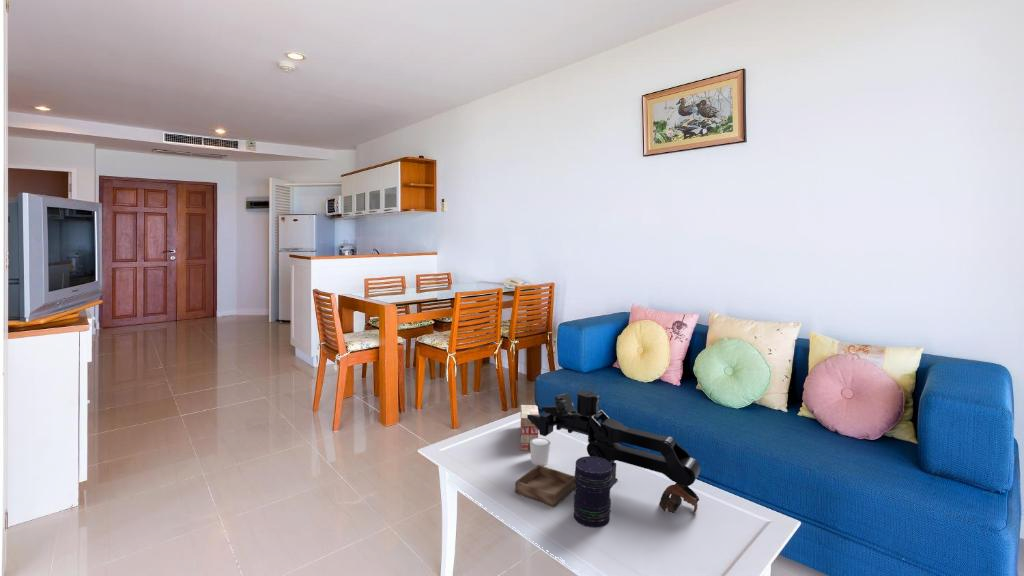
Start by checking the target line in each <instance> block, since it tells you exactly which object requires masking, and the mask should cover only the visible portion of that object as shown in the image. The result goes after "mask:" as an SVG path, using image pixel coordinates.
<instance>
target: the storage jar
mask: <svg viewBox="0 0 1024 576" xmlns="http://www.w3.org/2000/svg"><path fill="white" fill-rule="evenodd" d="M574 476H575V479H574V480H575V484H576V488H575V489H574V490H575V492H574V497H573V519H574V520H575V521H576V523H578V524H580V525H581V526H584V527H586V528H591V529H597V528H599V529H600V528H603V527H605V526H607V525H608V524H609V523H610V521H611V520H610V519H611V518H610V517H611V516H610V515H611V511H612V510H611V509H612V507H611V505H612V503H611V502H612V500H611V488H612V487H611V485H612V464H611V463H610V462H609V461H608V460H606V459H603V458H600V457H594V456H589V455H588V456H587V455H586V456H581V457H578V458H577V459H576V461H575V469H574Z"/></svg>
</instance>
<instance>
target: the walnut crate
mask: <svg viewBox="0 0 1024 576" xmlns="http://www.w3.org/2000/svg"><path fill="white" fill-rule="evenodd" d="M574 479H575V475H572V474H569V473H566V472H562V471H560V470H556V469H553V468H551V467H547V466H545V465H543V466H541V465H535V467H533V468H532V469H530V470H528V472H526V473H525V474H524V475H522V476H521V477H520V478H519V479H517V480H515V483H514V485H515V487H514V489H515V491H514V492H515V494H516V495H520V496H523V497H525V498H527V499H531V500H534V501H535V502H538V503H541V504H544V505H547V506H549V507H552V508H556V507H557V506H558V505H559V504H560V503H561V502H562V501H563V500H565V499H566V498H567V497H568V496H569V495H570V494H571V493H572V492H573V491H574V490H575V488H576V484H575V480H574Z"/></svg>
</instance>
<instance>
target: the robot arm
mask: <svg viewBox="0 0 1024 576" xmlns="http://www.w3.org/2000/svg"><path fill="white" fill-rule="evenodd" d="M576 399H577V402H576V409H575V404H574V403H573V401H572V397H571V394H570V392H563V393H560V394H557V395H556V396H554V404H555V405H552V406H542V407H541V411H542V412H544V413H541V414H539V415H527V418H528V419H529V420H530V421H531V422H532V423H533V424H534V425H535V426H536V427H537V428H538V429H539V433H538V435H540V436H542V437H547V436H548V435H550V434H551V433H553V432H554V426H555V427H556V429H555V430H557V431H560V430H562V429H563V430H566V431H567V433H568V434H571V433H573V432H574V433H577V434H582V435H586V436H587V445H586V452H587V454H588V456H594V457H600V458H603V459H606V460H608V461H609V462H610V463H611V464H612V485H611V488H612V487H613V486H614V485H615V484H616V483H617V482H618V480H619V479H618V478H616V477H617V475H616V474H617V463H616V462H615V461H618V462H620V463H624V464H626V465H627V464H628V465H630V466H635V467H637V468H638V467H639V468H642V469H646V470H649V471H651V472H652V471H653V472H657V473H661V474H663V475H664V476H665V477H666V478H668V479H669V480H670V481H672V482H674V483H675V484H676V483H678V484H680V485H683V486H688V487H689V486H692V485H693V484H694V483H695V481H696V480H697V478H698V476H699V475H700V474H701V473H700V472H701V466H700V464H699V462H698V461H697V459H695V458H693V457H692V456H691V455H690V454H689V452H688V451H687V450H685V449H684V448H683V447H682V446H680V444H678V442H677V441H676V439H674V438H673V437H672V436H665V435H660V434H656V433H652V432H648V431H644V430H640V429H635V428H632V427H628V426H625V425H624V424H623V423H622V422H620V421H618V420H616V419H613V418H610V417H609V416H608V415H607V414H606V412H605V411H603V409H599V408H600V407H599V405H600V403H599V402H600V395H597V393H595V392H593V391H591V390H579V391H577V398H576ZM599 420H600V421H599ZM598 421H599V422H598ZM620 443H623V444H627V445H632V446H636V447H639V448H643V449H645V450H646V449H647V450H650V451H655V452H658V453H660V454H661V455H660V454H656V453H652V452H648V451H645V450H641V449H636V448H634V447H629V446H625V445H622V444H620Z"/></svg>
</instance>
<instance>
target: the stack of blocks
mask: <svg viewBox="0 0 1024 576" xmlns="http://www.w3.org/2000/svg"><path fill="white" fill-rule="evenodd" d="M527 415H539V416H540V414H539V407H538V405H535V404H520V449H519V450H520V451H524V452H525V451H527V452H531V450H530V440H532V439H534V438H539V433H540V432H539V429H538V428H537V427H536V426H535V425H534V424H533V423H532V422H531V421H530V420H529V419H528V418H527Z"/></svg>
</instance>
